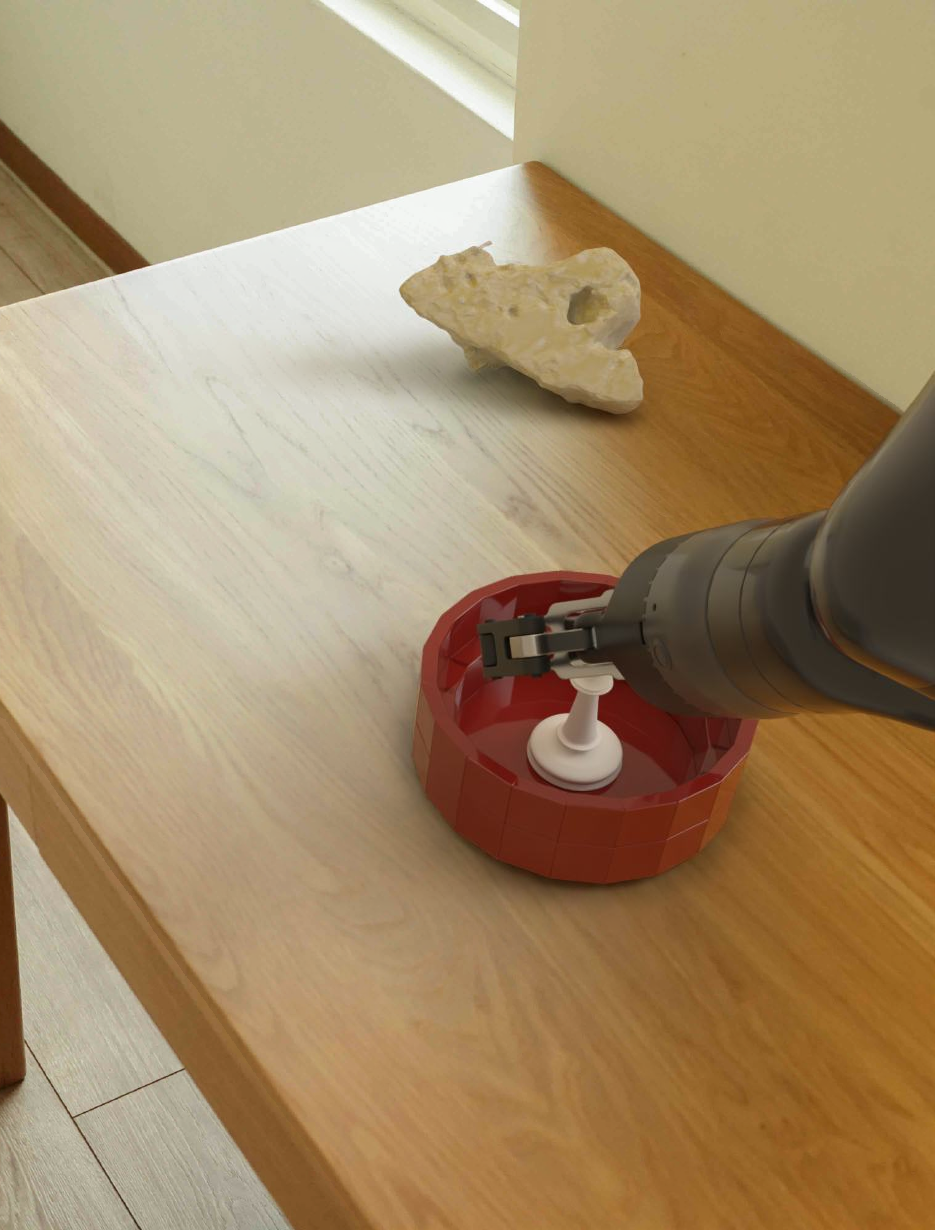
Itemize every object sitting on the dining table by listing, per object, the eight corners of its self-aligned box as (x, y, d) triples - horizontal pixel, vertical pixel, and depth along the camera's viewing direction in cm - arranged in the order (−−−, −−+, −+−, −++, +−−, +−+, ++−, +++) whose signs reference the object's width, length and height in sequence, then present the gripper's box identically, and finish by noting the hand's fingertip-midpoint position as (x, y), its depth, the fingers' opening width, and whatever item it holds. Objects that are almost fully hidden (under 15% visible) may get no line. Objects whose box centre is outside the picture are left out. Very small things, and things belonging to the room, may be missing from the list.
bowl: (658, 635, 88) (679, 555, 84) (785, 862, 76) (817, 782, 72) (377, 671, 84) (385, 589, 80) (463, 914, 73) (477, 832, 69)
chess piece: (585, 807, 77) (620, 664, 70) (507, 755, 79) (534, 613, 73) (640, 755, 80) (679, 613, 73) (563, 707, 82) (593, 565, 75)
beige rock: (666, 394, 109) (565, 208, 109) (702, 372, 102) (594, 173, 102) (481, 493, 108) (379, 304, 108) (504, 478, 100) (395, 276, 100)
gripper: (894, 505, 61) (715, 544, 76) (552, 544, 58) (440, 576, 74) (919, 694, 60) (734, 694, 76) (577, 742, 58) (460, 731, 74)
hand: (590, 636), depth 75 cm, fingers open, 8 cm apart
